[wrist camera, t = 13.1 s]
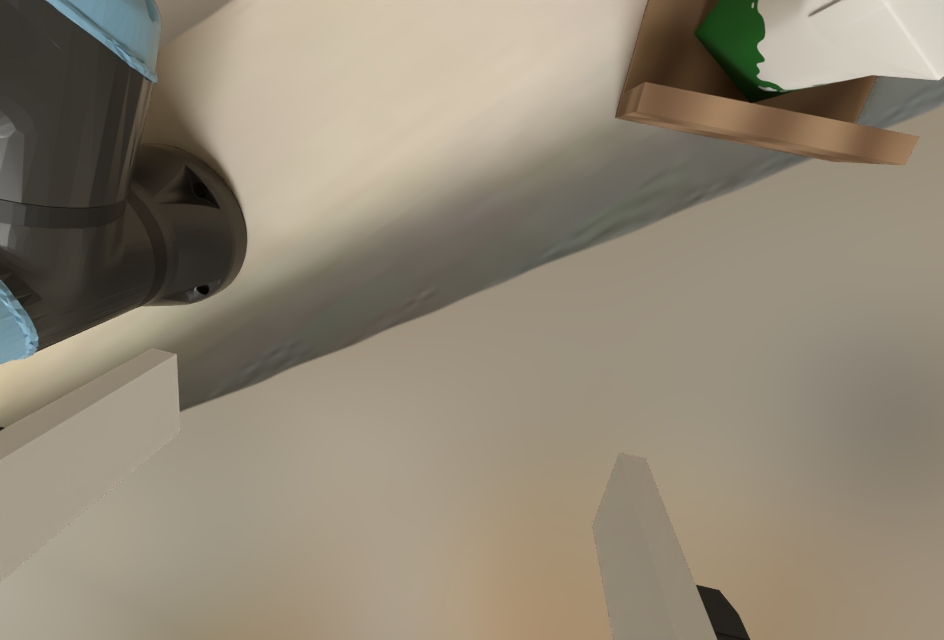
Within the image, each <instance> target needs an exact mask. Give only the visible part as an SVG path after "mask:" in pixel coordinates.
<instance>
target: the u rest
mask: <svg viewBox="0 0 944 640" xmlns="http://www.w3.org/2000/svg"><path fill="white" fill-rule="evenodd" d="M718 1H719V0H648V2H647V6H646V9H645V13H644V16H643V20H642V24H641V27H640V31H639V34H638V38H637V41H636V45H635V49H634V52H633V56H632V59H631V63H630V67H629V70H628V74H627V77H626V81H625V84H624V88H623V92H622V95H621V99H620V102H619V106H618V110H617V113H616V117H615V118H618V119H623V120H628V121H633V122H638V123H643V124H648V125H653V126H658V127H663V128H668V129H673V130H678V131H683V132H688V133H693V134H698V135H702V136H707V137H712V138H717V139H722V140H727V141H732V142H737V143H742V144H747V145H752V146H757V147H762V148H767V149H772V150H777V151H782V152H787V153H792V154H797V155H802V156H806V157H811V158H817V159H822V160H827V161H832V162H851V163H870V164H889V165H905V164H906V162H907V160H908V158H909V156H910V154H911V152H912V150H913V148H914V146H915V144H916V143H917V140H918V139H919V136H913V135H909V134H903V133H899V132H894V131H889V130H884V129H879V128H874V127H869V126H864V125H859V124H856V121H857V119H858V117H859V115H860V113H861V110H862V108H863V106H864V104H865V102H866V100H867V97H868V95H869V93H870V91H871V89H872V86H873V84H874V82H875V80H876V78H877V75H870V76H865V77H861V78H856V79H851V80H846V81H841V82H836V83H831V84H826V85H821V86H816V87H811V88H806V89H802V90H798V91H795V92H791V93H787V94H784V95H780V96H777V97H773V98H769V99H766V100H762V101H759V102H755V103H750V102H749V101H748V100H747V99H746V97H745V96H744V95H743V94H742V93H741V91H740V90H739V89H738V88H737V86H736V85H735V84H734V83H733V81H732V80H731V79H730V78H729V76H728V75H727V74H726V73H725V71H724V70H723V69H722V68H721V66H720V65H719V64H718V63H717V61H716V60H715V59H714V58H713V57H712V55H711V54H710V53H709V52H708V50H707V49H706V48H705V47H704V45H703V44H702V43H701V42H700V40H699V39H698V38H697V37H696V35H695V34H694V32H695V31H696V30H697V28H698V27H699V26H700V25H701V23H702V22H703V21H704V19H705V18H706V17H707V16H708V14H709V13H710V12H711V10H712V9H713V8H714V6H715V5H716V4H717V3H718Z"/></svg>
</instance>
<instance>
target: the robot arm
mask: <svg viewBox="0 0 944 640" xmlns="http://www.w3.org/2000/svg"><path fill="white" fill-rule="evenodd" d="M161 29H162V21H161V15H160V12H159V9H158V7H157V5H156V3H155V1H154V0H0V364H2V363H5V362H8V361H11V360H18V359H25V358H27V357H29V356H31V355H33V354H34V353H36V352H37V351H40V350H42V349H44V348H47V347H49V346H51V345H53V344H56V343H58V342H60V341H62V340H65V339H67V338H69V337H71V336H74V335H76V334H78V333H81V332H83V331H85V330H87V329H90V328H92V327H94V326H96V325H99V324H101V323H103V322H106V321H108V320H110V319H112V318H115V317H117V316H119V315H121V314H124V313H126V312H128V311H130V310H133V309H135V308H137V307H140V306H173V305H187V304H192V303H196V302H199V301H202V300H204V299H206V298H208V297H210V296H213V295H215V294H217V293H219V292H220V291H222V290H223V289H225V288H226V287H227V286H228V285H229V284H231V282H232V281H233V280H234V279H235V278H236V276H237V274H238V273H239V271H240V269H241V267H242V264H243V261H244V258H245V253H246V229H245V224H244V220H243V216H242V213H241V210H240V208H239V205H238V203H237V201H236V199H235V197H234V195H233V194H232V192H231V190H230V189H229V187H228V186H227V185H226V183H225V182H224V181H223V180H222V178H221V177H220V176H219V175H218V174H217V173H216V172H215V171H214V170H213V169H212V168H211V167H210V166H208V165H207V164H206V163H205V162H203V161H202V160H200V159H199V158H197V157H196V156H194V155H192V154H190V153H188V152H186V151H184V150H182V149H179V148H176V147H172V146H168V145H161V144H140V142H141V137H142V133H143V128H144V124H145V120H146V115H147V111H148V106H149V102H150V98H151V93H152V89H153V84H154V83H157V81H158V75H157V73H156V71H155V70H156V62H157V55H158V49H159V41H160V36H161ZM178 433H180V413H179V393H178V373H177V354H174V353H170V352H165V351H161V350H156V349H152V348H151V349H150V350H148V351H146V352H144V353H142V354H140V355H139V356H137V357H135V358H133V359H131V360H129V361H128V362H126V363H124V364H122V365H120V366H118V367H117V368H115V369H113V370H111V371H109V372H107V373H106V374H104V375H102V376H100V377H98V378H96V379H95V380H93V381H91V382H89V383H87V384H85V385H84V386H82V387H80V388H78V389H76V390H74V391H72V392H71V393H69V394H67V395H65V396H63V397H61V398H60V399H58V400H56V401H54V402H52V403H50V404H49V405H47V406H45V407H43V408H41V409H39V410H38V411H36V412H34V413H32V414H30V415H28V416H27V417H25V418H23V419H21V420H19V421H17V422H16V423H14V424H12V425H10V426H8V427H6V428H3V427H0V582H1V581H2V580H4V579H5V578H6V577H7V576H8V575H9V574H11V573H12V572H13V571H14V570H16V569H17V568H18V567H19V566H20V565H22V564H23V563H24V562H25V561H26V560H28V559H29V558H30V557H31V556H32V555H33V554H35V553H36V552H37V551H38V550H40V549H41V548H42V547H43V546H44V545H45V544H47V543H48V542H49V541H50V540H51V539H53V538H54V537H55V536H56V535H58V534H59V533H60V532H61V531H62V530H63V529H65V528H66V527H67V526H68V525H70V524H71V523H72V522H73V521H74V520H75V519H77V518H78V517H79V516H80V515H81V514H83V513H84V512H85V511H86V510H87V509H89V508H90V507H91V506H92V505H93V504H95V503H96V502H97V501H98V500H99V499H100V498H102V497H103V496H104V495H105V494H107V493H108V492H109V491H110V490H111V489H112V488H114V487H115V486H116V485H117V484H118V483H120V482H121V481H122V480H123V479H125V478H126V477H127V476H128V475H129V474H131V473H132V472H133V471H134V470H135V469H137V468H138V467H139V466H140V465H141V464H142V463H144V462H145V461H146V460H147V459H149V458H150V457H151V456H152V455H153V454H155V453H156V452H157V451H158V450H159V449H160V448H162V447H163V446H164V445H165V444H166V443H168V442H169V441H170V440H171V439H172V438H174V437H175V436H176V435H177V434H178ZM592 528H593V533H594V539H595V544H596V549H597V555H598V560H599V566H600V571H601V577H602V583H603V588H604V594H605V599H606V605H607V610H608V616H609V621H610V627H611V632H612V637H613V640H750V638H749V636H748V634H747V632H746V629H745V627H744V625H743V623H742V621H741V619H740V617H739V615H738V613H737V612H736V611H735V609H734V608H733V607H732V606H731V604H730V603H729V602H728V601H727V599H726V598H725V597H724V596H723V594H722V593H721V592H720V591H719V590H716V589H712V588H708V587H703V586H699V585H695V582H694V580H693V577H692V574H691V572H690V569H689V567H688V564H687V562H686V559H685V556H684V554H683V551H682V549H681V546H680V544H679V541H678V539H677V536H676V534H675V531H674V529H673V526H672V524H671V521H670V519H669V516H668V514H667V511H666V508H665V506H664V503H663V501H662V498H661V496H660V493H659V490H658V488H657V486H656V483H655V480H654V478H653V475H652V473H651V470H650V468H649V465H648V463H647V460H646V458H642V457H638V456H633V455H629V454H624V453H619V454H618V457H617V460H616V462H615V465H614V468H613V470H612V473H611V476H610V479H609V481H608V484H607V487H606V489H605V492H604V495H603V497H602V500H601V503H600V505H599V508H598V511H597V513H596V516H595V519H594V521H593V524H592Z"/></svg>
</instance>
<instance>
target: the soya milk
mask: <svg viewBox="0 0 944 640" xmlns="http://www.w3.org/2000/svg"><path fill="white" fill-rule="evenodd" d="M694 34H695V35H696V37H697V38H698V39H699V40H700V42H701V43H702V44H703V45H704V47H705V48H706V49H707V50H708V52H709V53H710V54H711V55H712V57H713V58H714V59H715V60H716V61H717V63H718V64H719V65H720V66H721V68H722V69H723V70H724V71H725V73H726V74H727V75H728V76H729V78H730V79H731V80H732V81H733V83H734V84H735V85H736V86H737V88H738V89H739V90H740V91H741V93H742V94H743V95H744V96H745V97H746V99H747V100H748V101H749V102H750V103H755V102H759V101H762V100H766V99H769V98H773V97H777V96H780V95H784V94H787V93H791V92H795V91H798V90H802V89H806V88H811V87H816V86H821V85H826V84H831V83H836V82H841V81H846V80H851V79H856V78H861V77H865V76H870V75H878V76H892V77H905V78H917V79H929V80H939V79H941V78H942V77H943V76H944V0H719V1H718V3H717V4H716V5H715V6H714V8H713V9H712V10H711V12H710V13H709V14H708V16H707V17H706V18H705V19H704V21H703V22H702V23H701V25H700V26H699V27H698V28H697V30H696V31H695V32H694Z"/></svg>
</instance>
